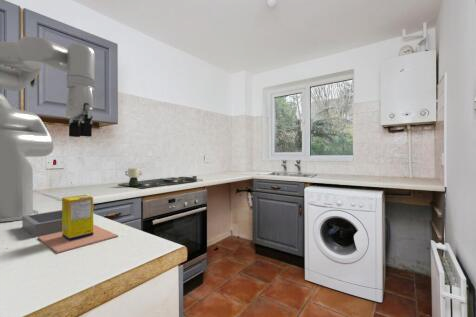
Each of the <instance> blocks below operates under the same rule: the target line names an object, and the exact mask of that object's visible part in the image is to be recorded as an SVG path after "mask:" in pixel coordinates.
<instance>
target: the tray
mask: <svg viewBox="0 0 476 317" xmlns="http://www.w3.org/2000/svg"><path fill="white" fill-rule="evenodd" d="M21 224H22V228H23V229H24V230H25V231H27V232H28V233H29V234H30V235H32V236H33V237H34V238H38V237H40V236H45V235H49V234H54V233H58V232H62V209H59V210H54V211H48V212H47V211H46V212H41V213H38V214H33V215H27V216H22V223H21Z"/></svg>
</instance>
